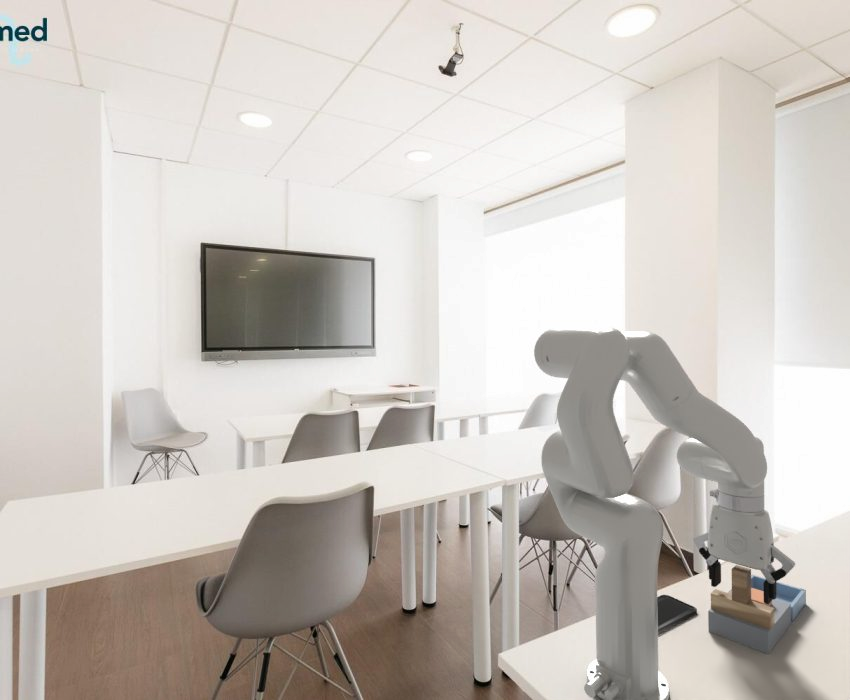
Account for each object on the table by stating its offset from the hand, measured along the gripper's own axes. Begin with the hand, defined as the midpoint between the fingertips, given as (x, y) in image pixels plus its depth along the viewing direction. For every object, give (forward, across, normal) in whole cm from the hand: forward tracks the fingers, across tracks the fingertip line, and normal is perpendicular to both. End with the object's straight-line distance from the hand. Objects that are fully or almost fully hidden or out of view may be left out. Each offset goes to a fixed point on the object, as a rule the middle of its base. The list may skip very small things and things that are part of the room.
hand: (741, 592), depth 98 cm
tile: (+5, 0, +6) cm, 8 cm away
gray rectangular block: (+9, 0, +4) cm, 10 cm away
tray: (+9, 0, +18) cm, 19 cm away
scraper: (+5, 0, 0) cm, 5 cm away
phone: (+9, -14, -4) cm, 17 cm away
